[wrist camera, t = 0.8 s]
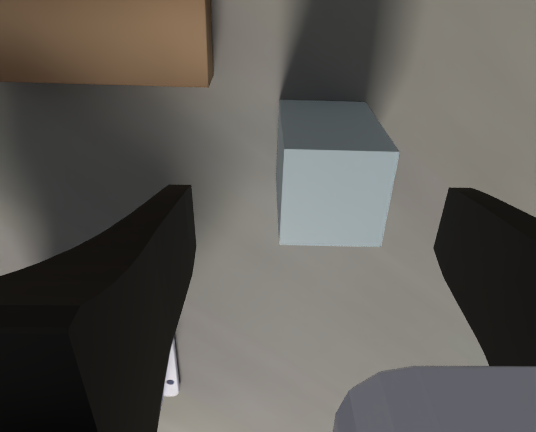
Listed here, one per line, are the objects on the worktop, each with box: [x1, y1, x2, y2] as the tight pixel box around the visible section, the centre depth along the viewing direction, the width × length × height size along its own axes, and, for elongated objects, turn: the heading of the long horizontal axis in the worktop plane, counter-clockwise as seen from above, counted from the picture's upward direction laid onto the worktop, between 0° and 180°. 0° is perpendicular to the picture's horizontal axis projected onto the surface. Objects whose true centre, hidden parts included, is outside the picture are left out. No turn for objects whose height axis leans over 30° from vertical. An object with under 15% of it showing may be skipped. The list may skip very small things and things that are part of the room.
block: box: [276, 100, 400, 247], centre depth 19 cm, size 4×4×6 cm
